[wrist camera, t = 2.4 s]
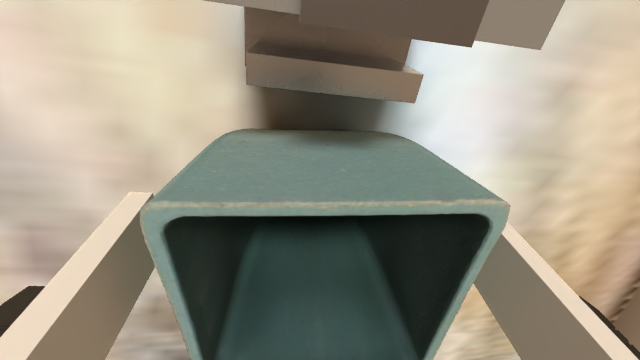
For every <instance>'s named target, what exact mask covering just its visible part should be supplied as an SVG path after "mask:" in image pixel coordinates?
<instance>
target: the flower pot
mask: <svg viewBox="0 0 640 360" xmlns="http://www.w3.org/2000/svg"><path fill="white" fill-rule="evenodd" d="M509 210H510V205H509V204H508V203H507V202H506V201H504V200H503V199H501V198H500V197H498V196H496V195H495V194H493V193H492V192H490V191H489V190H488V189H486V188H485V187H483V186H482V185H480V184H479V183H477V182H476V181H474V180H473V179H471V178H469V177H468V176H466V175H465V174H463V173H462V172H460V171H459V170H457V169H456V168H454V167H453V166H452V165H450V164H448V163H447V162H445V161H444V160H442V159H441V158H439V157H438V156H436V155H435V154H433V153H432V152H430V151H429V150H427V149H425V148H424V147H422V146H421V145H419V144H417V143H415V142H413V141H411V140H409V139H406V138H404V137H401V136H398V135H394V134H390V133H384V132H375V131H330V130H276V129H242V130H236V131H232V132H229V133H226V134H224V135H223V136H221V137H219V138H217V139H216V140H215V141H213V142H212V143H211V144H210V145H209V146H207V147H206V148H205V149H204V150H203V151H202V152H201V153H200V154H199V155H198V156H197V157H195V158H194V159H193V160H192V161H191V162H190V163H189V164H188V165H187V166H186V167H185V168H184V169H183V170H182V171H181V172H180V173H178V174H177V175H176V176H175V177H174V178H173V179H172V180H171V181H170V182H169V183H168V184H167V185H166V186H165V187H164V188H163V189H162V190H161V191H160V192H159V193H157V194H156V195H155V196H154V197H153V198H152V199H151V200H150V201H149V202H147V203H146V204H145V205H144V206H143V207H142V208H141V210H140V225H141V228H142V234H143V235H144V239H145V243H146V244H147V247H148V250H149V252H150V254H151V257H152V259H153V261H154V265H155V267H156V269H157V272H158V274H159V276H160V278H161V281H162V283H163V287H164V288H165V290H166V293H167V297H168V298H169V302H170V303H171V305H172V308H173V311H174V314H175V316H176V319H177V322H178V324H179V327H180V329H181V332H182V334H183V339H184V341H185V343H186V347H187V351H188V355H189V357H190V359H191V360H433V359H434V356H435V354H436V353H437V351H438V349H439V347H440V345H441V343H442V341H443V339H444V337H445V336H446V333H447V331H448V330H449V328H450V326H451V323H452V322H453V320H454V318H455V316H456V314H457V313H458V311H459V309H460V307H461V304H462V302H463V300H464V299H465V297H466V295H467V293H468V291H469V289H470V287H471V286H472V284H473V282H474V280H476V277H477V276H478V273H479V272H480V270H481V268H482V266H483V265H484V263H485V261H486V259H487V257H488V256H489V254H490V252H491V251H492V249H493V247H494V246H495V244H496V242H497V240H498V239H499V237H500V235H501V233H502V231H503V230H504V228H505V227H506V222H507V219H508V215H509Z"/></svg>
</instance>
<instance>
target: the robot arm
mask: <svg viewBox="0 0 640 360" xmlns="http://www.w3.org/2000/svg"><path fill="white" fill-rule="evenodd" d="M153 197H154V196H153V193H148V192H132V191H130V192H129V193H128V194H127V195H126V196H125V198H124V199H123V200H122V201H121V202H120V203H119V204H118V205H117V207H116V208H115V209H114V210H113V211H112V212H111V213H110V214H109V216H108V217H107V218H106V219H105V220H104V221H103V222H102V223H101V225H100V226H99V227H98V228H97V229H96V230H95V231H94V232H93V234H92V235H91V236H90V237H89V238H88V239H87V240H86V241H85V243H84V244H83V245H82V246H81V247H80V248H79V249H78V250H77V252H76V253H75V254H74V255H73V256H72V257H71V258H70V259H69V261H68V262H67V263H66V264H65V265H64V266H63V267H62V269H61V270H60V271H59V272H58V273H57V274H56V275H55V276H54V278H53V279H52V280H51V281H50V282H49V283H48V284H47V285H46V286H28V287H27V288H25V289H24V290H22V291H21V292H19V293H18V294H16V295H15V296H13V297H12V298H10V299H9V300H7V301H6V302H4V303H3V304H2V305H1V306H0V360H105V358H106V356H107V354H108V353H109V351H110V349H111V347H112V345H113V343H114V341H115V340H116V338H117V336H118V334H119V332H120V330H121V328H122V327H123V325H124V323H125V321H126V319H127V317H128V316H129V314H130V312H131V310H132V308H133V306H134V304H135V303H136V301H137V299H138V297H139V295H140V293H141V291H142V290H143V288H144V286H145V284H146V282H147V280H148V279H149V277H150V275H151V273H152V271H153V269H154V267H155V265H154V261H153V259H152V257H151V254H150V252H149V250H148V247H147V244H146V243H145V239H144V235H143V234H142V228H141V225H140V210H141V208H142V207H143V206H144V205H145V204H146V203H147V202H149V201H150V200H151V199H152V198H153ZM473 283H474V285H475V286H476V288H477V289H478V291H479V293H480V294H481V296H482V297H483V299H484V301H485V302H486V304H487V305H488V307H489V309H490V310H491V312H492V313H493V315H494V317H495V318H496V320H497V321H498V323H499V325H500V326H501V328H502V329H503V331H504V333H505V334H506V336H507V337H508V339H509V341H510V342H511V344H512V345H513V347H514V349H515V350H516V352H517V353H518V355H519V357H520V358H521V360H640V352H639V351H638V350H637V349H636V348H635V347H634V346H633V345H630V344H629V341H628V340H627V339H626V338H625V337H624V336H623V335H622V334H621V333H620V332H619V331H617V330H615V327H614V325H613V324H612V323H611V322H610V321H609V320H608V319H607V318H606V317H605V316H604V315H603V314H602V313H601V312H600V311H599V310H598V309H596V308H595V307H594V306H592V305H591V304H590V303H588V302H587V301H586V300H584V299H583V298H582V297H580V296H578V295H577V294H576V293H575V292H574V291H573V290H572V289H571V288H570V287H569V286H568V285H567V284H566V283H565V282H564V281H563V280H562V279H561V278H560V277H559V276H558V274H557V273H556V272H555V271H554V270H553V269H552V268H551V267H550V266H549V265H548V264H547V263H546V262H545V261H544V260H543V259H542V258H541V257H540V256H539V255H538V254H537V252H536V251H535V250H534V249H533V248H532V247H531V246H530V245H529V244H528V243H527V242H526V241H525V240H524V239H523V238H522V237H521V236H520V235H519V234H518V233H517V231H516V230H515V229H514V228H513V227H512V226H511V225H510V224H509V223H508V222H506V227H505V228H504V230H503V231H502V233H501V235H500V237H499V239H498V240H497V242H496V244H495V246H494V247H493V249H492V251H491V252H490V254H489V256H488V257H487V259H486V261H485V263H484V265H483V266H482V268H481V270H480V272H479V273H478V276H477V277H476V280H474V282H473Z"/></svg>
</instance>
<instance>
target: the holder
mask: <svg viewBox="0 0 640 360" xmlns="http://www.w3.org/2000/svg"><path fill="white" fill-rule="evenodd" d="M205 1H211V2H218V3H225V4H232V5H239V6H244V10H245V66H246V85H252V86H261V87H270V88H279V89H288V90H298V91H307V92H316V93H325V94H334V95H343V96H352V97H362V98H371V99H380V100H389V101H398V102H407V103H415V101H416V98H417V95H418V91H419V88H420V85H421V82H422V78H423V74H421V73H419V72H417V71H415V70H414V69H412V68H410V67H408V66H406V65H404V64H405V61H406V57H407V53H408V50H409V46H410V42H411V39H416V40H423V41H430V42H437V43H444V44H451V45H458V46H465V47H472V45H473V42H474V40H476V41H482V42H489V43H496V44H503V45H509V46H516V47H523V48H530V49H537V50H541V48H542V46H543V44H544V42H545V40H546V38H547V36H548V34H549V32H550V30H551V28H552V26H553V24H554V22H555V20H556V18H557V16H558V14H559V12H560V10H561V8H562V6H563V4H564V2H565V0H205Z"/></svg>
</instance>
